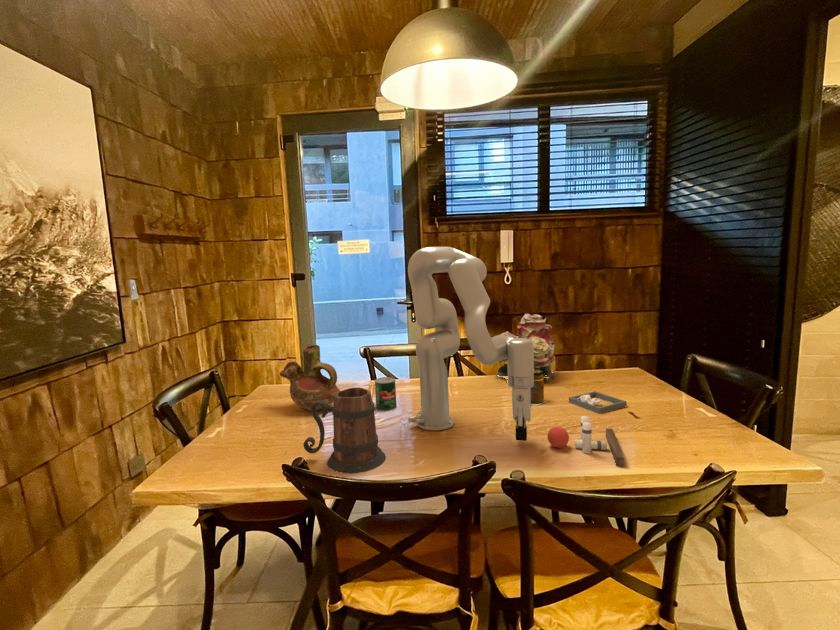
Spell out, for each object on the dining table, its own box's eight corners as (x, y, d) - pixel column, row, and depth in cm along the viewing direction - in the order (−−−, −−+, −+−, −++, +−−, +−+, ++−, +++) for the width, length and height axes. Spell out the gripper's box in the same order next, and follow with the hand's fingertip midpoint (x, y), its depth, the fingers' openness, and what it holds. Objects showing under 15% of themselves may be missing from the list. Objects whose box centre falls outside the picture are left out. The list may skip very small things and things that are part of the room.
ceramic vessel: (293, 400, 187) (288, 340, 184) (351, 402, 181) (348, 341, 177) (270, 414, 171) (264, 349, 167) (334, 418, 164) (329, 350, 161)
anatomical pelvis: (603, 396, 165) (590, 398, 162) (602, 407, 165) (589, 409, 162) (586, 390, 172) (573, 392, 169) (585, 401, 172) (572, 403, 169)
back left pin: (585, 447, 132) (585, 419, 131) (578, 444, 134) (578, 416, 133) (591, 445, 133) (591, 417, 132) (584, 442, 135) (585, 415, 134)
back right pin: (586, 454, 127) (587, 425, 126) (580, 451, 129) (580, 423, 128) (593, 452, 128) (593, 424, 127) (586, 449, 130) (586, 421, 129)
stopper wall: (616, 466, 120) (616, 457, 119) (605, 436, 139) (605, 428, 139) (624, 466, 119) (624, 457, 119) (612, 436, 138) (612, 428, 138)
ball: (568, 440, 127) (549, 448, 129) (574, 445, 132) (555, 452, 134) (560, 421, 131) (541, 429, 133) (566, 426, 135) (548, 433, 137)
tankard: (389, 446, 138) (386, 383, 135) (381, 473, 121) (377, 401, 118) (314, 447, 139) (309, 384, 137) (296, 474, 123) (290, 403, 120)
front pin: (575, 445, 130) (607, 447, 128) (575, 437, 132) (606, 439, 129) (575, 449, 132) (606, 451, 129) (574, 441, 133) (605, 443, 131)
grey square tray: (599, 413, 158) (599, 408, 157) (568, 402, 171) (568, 397, 170) (626, 406, 164) (626, 401, 163) (594, 396, 177) (594, 391, 176)
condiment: (548, 401, 173) (548, 370, 172) (536, 406, 168) (536, 375, 166) (531, 397, 179) (531, 367, 177) (519, 402, 173) (519, 372, 171)
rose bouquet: (485, 376, 210) (484, 313, 206) (538, 368, 221) (537, 308, 217) (516, 391, 187) (515, 320, 183) (573, 381, 197) (574, 313, 193)
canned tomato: (387, 412, 168) (385, 383, 166) (371, 408, 172) (370, 381, 171) (400, 406, 174) (399, 378, 172) (385, 403, 179) (384, 376, 177)
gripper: (533, 388, 125) (533, 451, 127) (534, 373, 139) (534, 430, 142) (506, 387, 127) (506, 449, 129) (509, 373, 141) (510, 429, 144)
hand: (521, 439), depth 136 cm, fingers closed
